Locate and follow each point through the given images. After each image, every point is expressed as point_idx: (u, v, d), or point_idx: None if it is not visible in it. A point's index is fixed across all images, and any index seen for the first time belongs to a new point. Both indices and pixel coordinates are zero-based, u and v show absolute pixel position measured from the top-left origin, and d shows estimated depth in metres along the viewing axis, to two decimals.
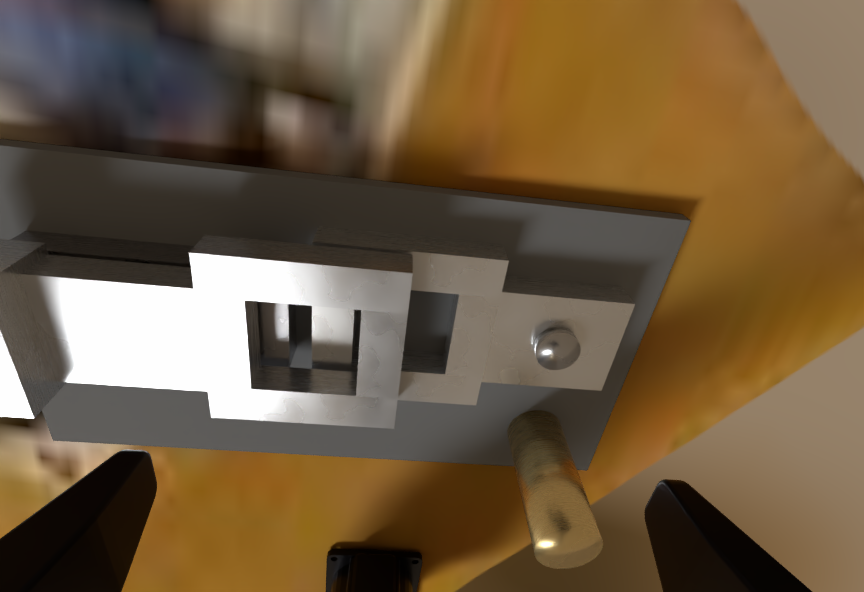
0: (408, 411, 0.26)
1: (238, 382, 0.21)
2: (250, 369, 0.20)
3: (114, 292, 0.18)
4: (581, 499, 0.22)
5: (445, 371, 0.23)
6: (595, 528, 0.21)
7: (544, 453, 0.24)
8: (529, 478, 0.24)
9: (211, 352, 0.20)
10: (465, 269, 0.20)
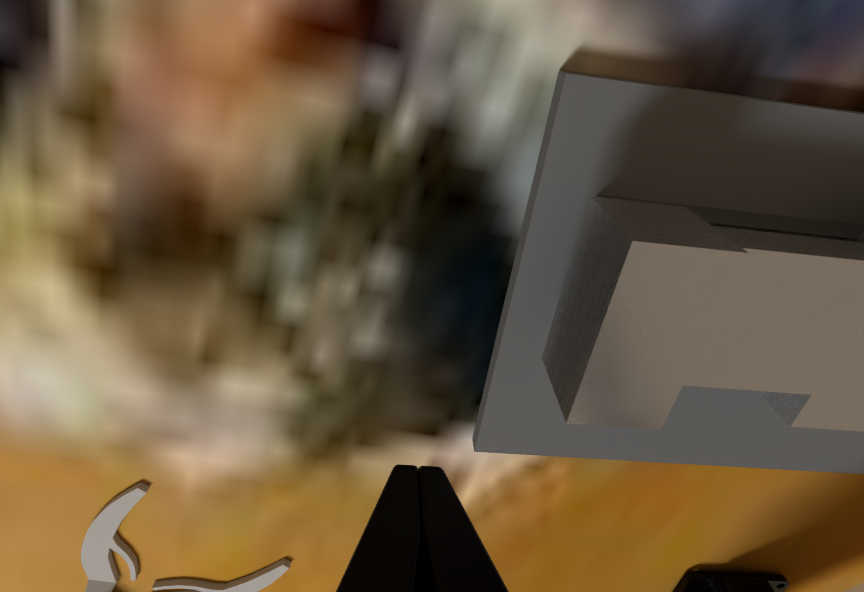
0: None
1: (855, 384, 0.17)
2: None
3: (801, 268, 0.14)
4: None
5: None
6: None
7: None
8: None
9: (855, 346, 0.16)
10: None
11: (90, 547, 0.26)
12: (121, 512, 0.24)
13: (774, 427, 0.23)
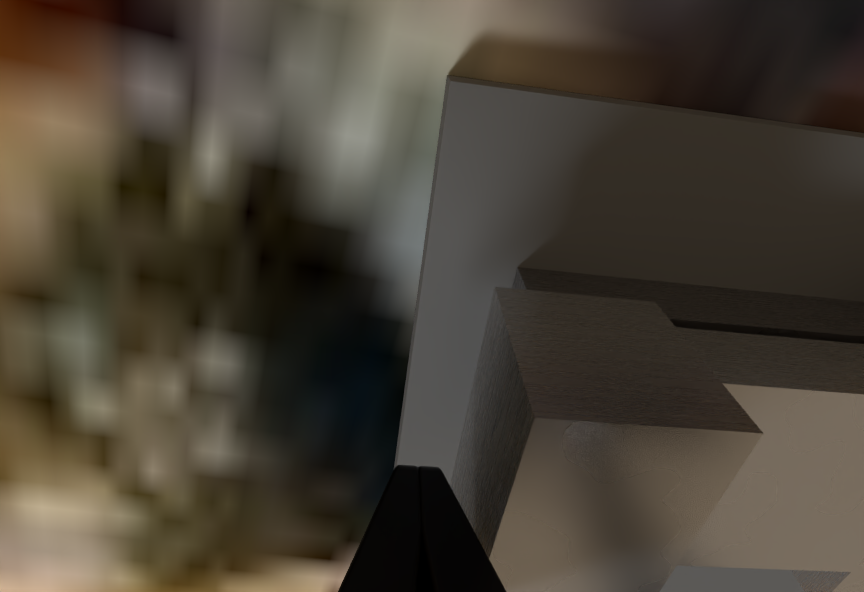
0: None
1: None
2: None
3: (847, 414, 0.08)
4: None
5: None
6: None
7: None
8: None
9: None
10: None
11: None
12: None
13: None
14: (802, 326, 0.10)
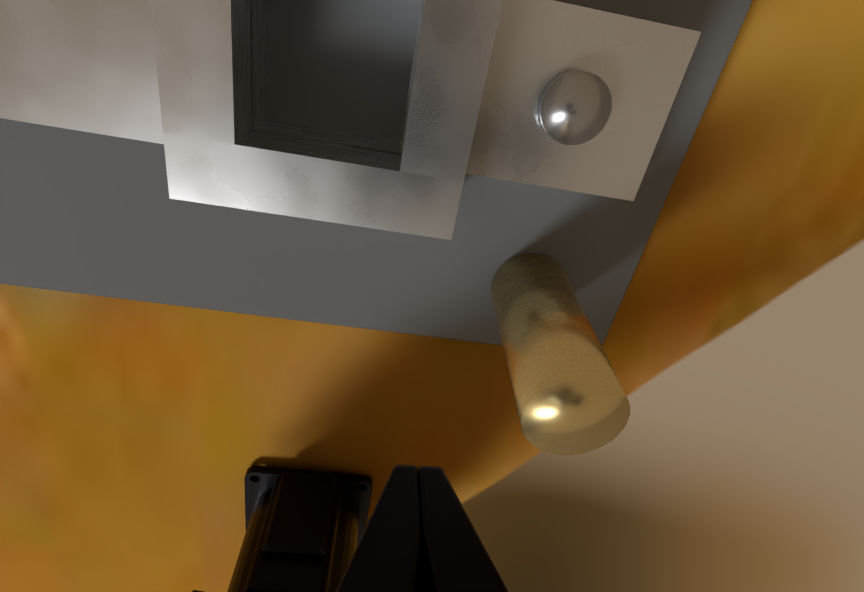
0: (350, 243, 0.18)
1: (213, 130, 0.13)
2: (233, 103, 0.12)
3: None
4: (595, 348, 0.14)
5: (401, 148, 0.15)
6: (618, 384, 0.13)
7: (541, 296, 0.16)
8: (518, 327, 0.16)
9: (170, 60, 0.12)
10: None
11: None
12: None
13: (203, 248, 0.18)
14: None
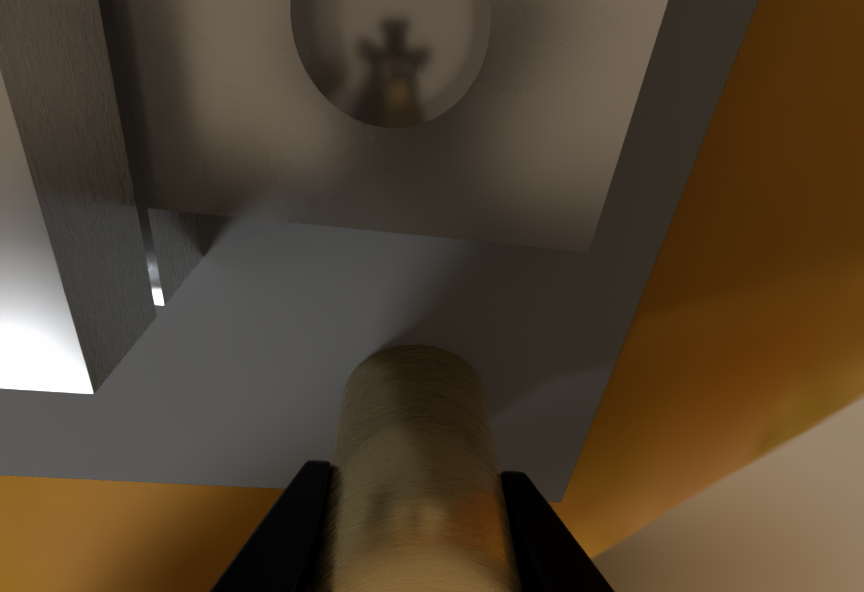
0: None
1: None
2: None
3: None
4: None
5: None
6: None
7: (380, 472, 0.07)
8: (319, 567, 0.07)
9: None
10: None
11: None
12: None
13: None
14: None
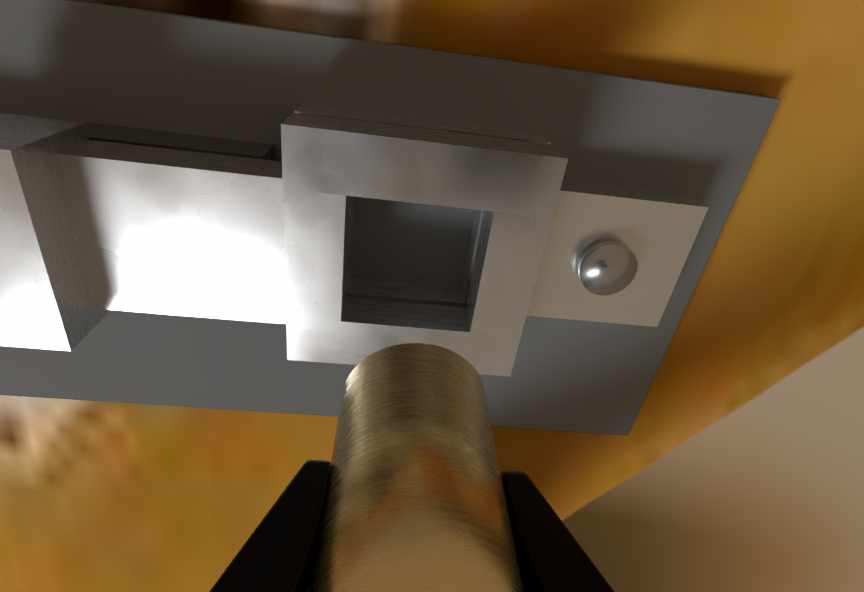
0: None
1: (325, 312, 0.16)
2: (341, 294, 0.16)
3: (178, 182, 0.14)
4: None
5: (464, 299, 0.19)
6: None
7: (381, 471, 0.07)
8: (318, 565, 0.07)
9: (296, 270, 0.15)
10: None
11: None
12: None
13: (294, 369, 0.22)
14: None
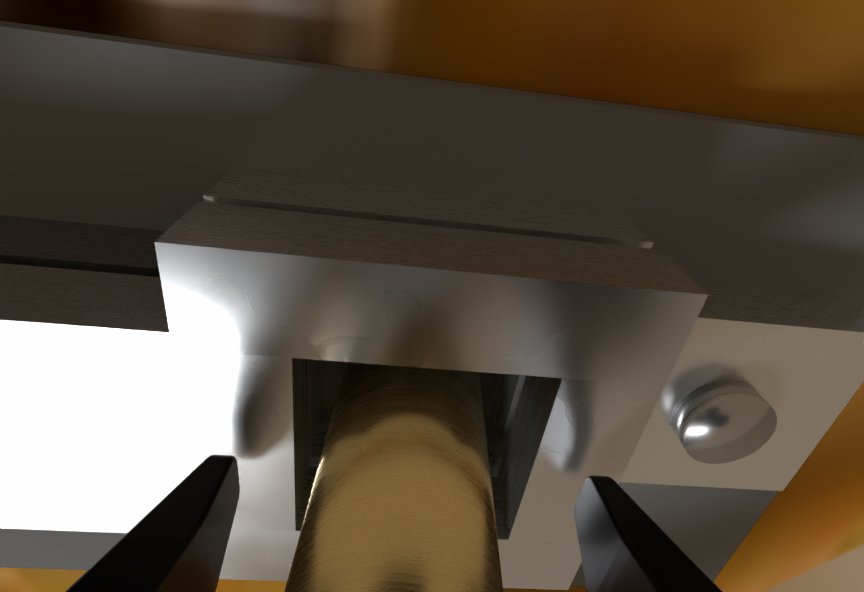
0: None
1: (268, 520, 0.10)
2: (294, 496, 0.09)
3: None
4: (441, 507, 0.07)
5: (494, 461, 0.12)
6: None
7: (378, 382, 0.09)
8: (325, 451, 0.08)
9: None
10: None
11: None
12: None
13: None
14: None
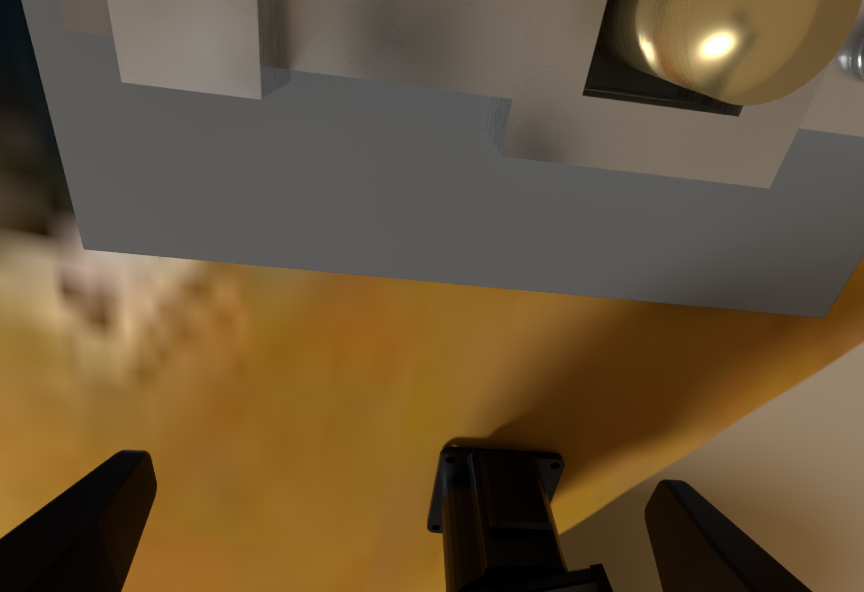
0: (602, 207, 0.18)
1: (565, 81, 0.13)
2: (593, 51, 0.12)
3: None
4: None
5: (702, 100, 0.15)
6: None
7: None
8: None
9: (544, 8, 0.12)
10: None
11: None
12: None
13: (455, 219, 0.18)
14: None
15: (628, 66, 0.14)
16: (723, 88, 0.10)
